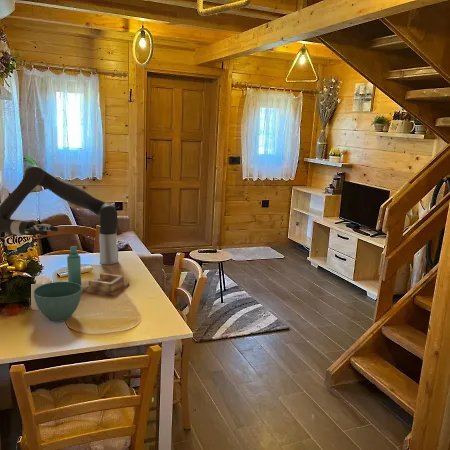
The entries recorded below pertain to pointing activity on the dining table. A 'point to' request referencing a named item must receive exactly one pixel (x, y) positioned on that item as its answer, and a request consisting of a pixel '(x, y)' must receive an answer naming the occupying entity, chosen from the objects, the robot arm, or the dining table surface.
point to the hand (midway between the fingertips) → (52, 231)
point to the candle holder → (39, 281)
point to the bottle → (74, 266)
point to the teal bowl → (58, 299)
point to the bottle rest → (107, 285)
